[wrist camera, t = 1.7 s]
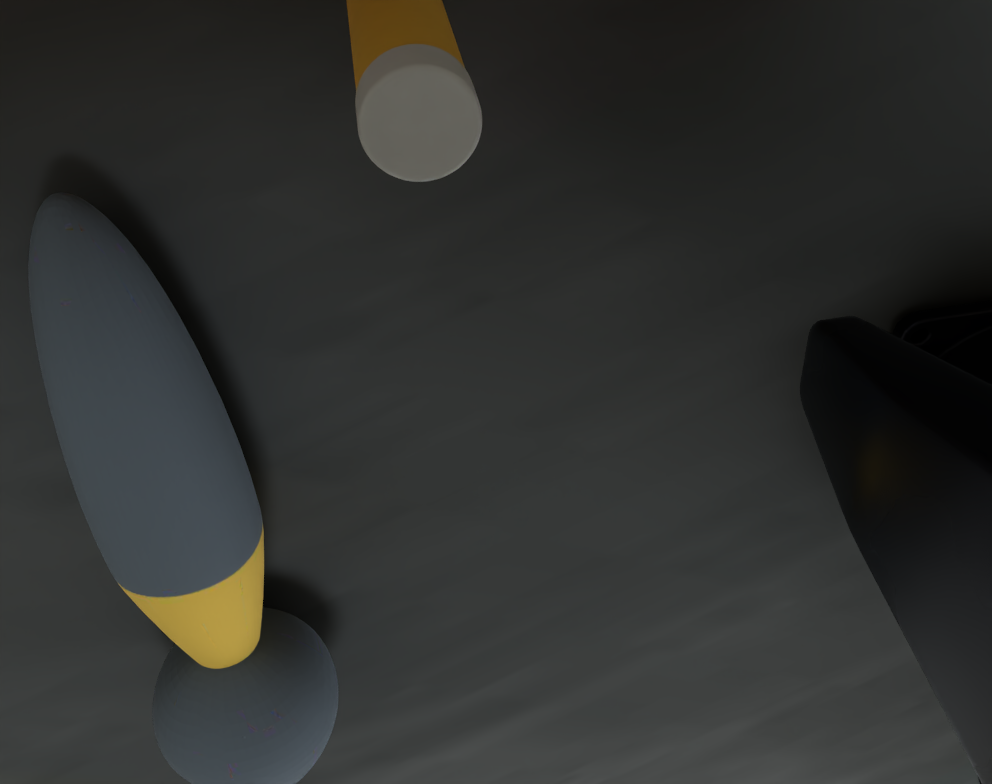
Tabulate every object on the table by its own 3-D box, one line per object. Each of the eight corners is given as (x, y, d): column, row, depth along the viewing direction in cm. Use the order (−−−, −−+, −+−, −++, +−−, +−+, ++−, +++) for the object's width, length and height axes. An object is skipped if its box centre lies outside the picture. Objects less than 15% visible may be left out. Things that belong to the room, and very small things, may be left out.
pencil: (422, -92, 17) (479, 57, 11) (431, 0, 18) (487, 175, 12) (333, -82, 17) (348, 73, 11) (347, 10, 18) (367, 192, 12)
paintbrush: (-122, 203, 18) (-228, 362, 15) (131, 149, 19) (90, 294, 15) (221, 723, 31) (211, 878, 28) (369, 689, 32) (379, 839, 28)
